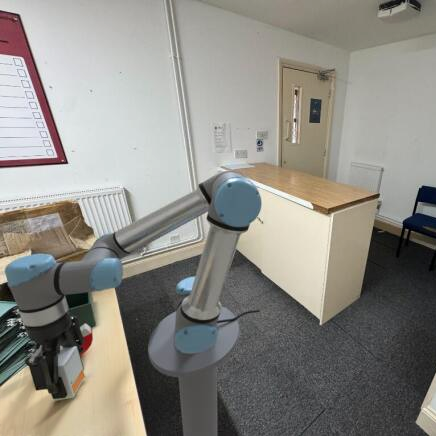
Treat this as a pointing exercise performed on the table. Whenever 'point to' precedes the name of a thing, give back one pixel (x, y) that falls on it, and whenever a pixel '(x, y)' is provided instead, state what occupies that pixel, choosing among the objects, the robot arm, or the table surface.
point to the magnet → (86, 337)
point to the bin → (82, 308)
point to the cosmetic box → (70, 370)
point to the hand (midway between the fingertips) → (69, 383)
